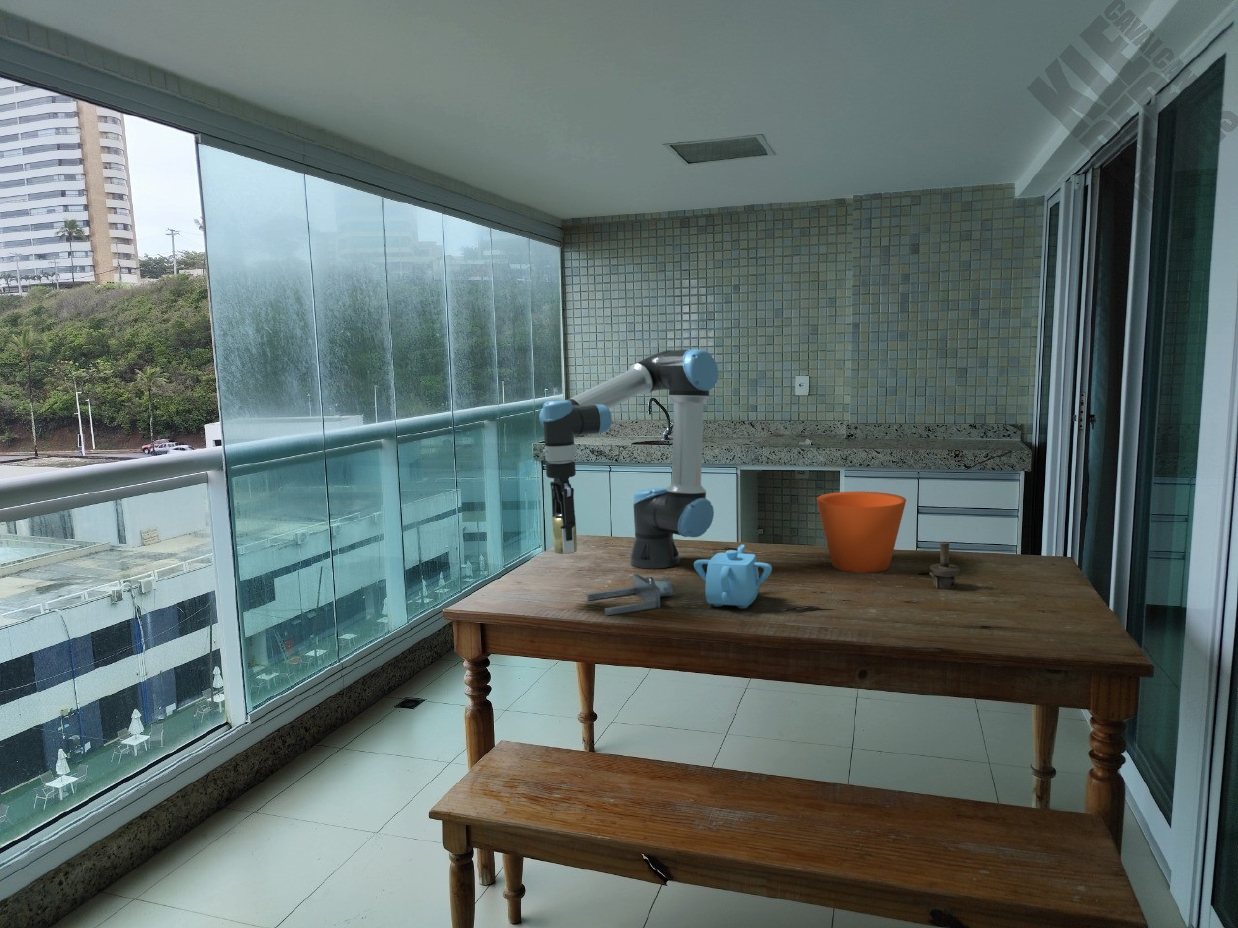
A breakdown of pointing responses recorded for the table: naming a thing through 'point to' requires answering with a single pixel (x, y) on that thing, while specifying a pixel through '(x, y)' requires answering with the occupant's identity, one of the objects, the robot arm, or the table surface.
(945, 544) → the industrial component
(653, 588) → the flange cradle
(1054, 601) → the table surface
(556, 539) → the yellow jar
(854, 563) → the flowerpot
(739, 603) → the light blue boxy pot
